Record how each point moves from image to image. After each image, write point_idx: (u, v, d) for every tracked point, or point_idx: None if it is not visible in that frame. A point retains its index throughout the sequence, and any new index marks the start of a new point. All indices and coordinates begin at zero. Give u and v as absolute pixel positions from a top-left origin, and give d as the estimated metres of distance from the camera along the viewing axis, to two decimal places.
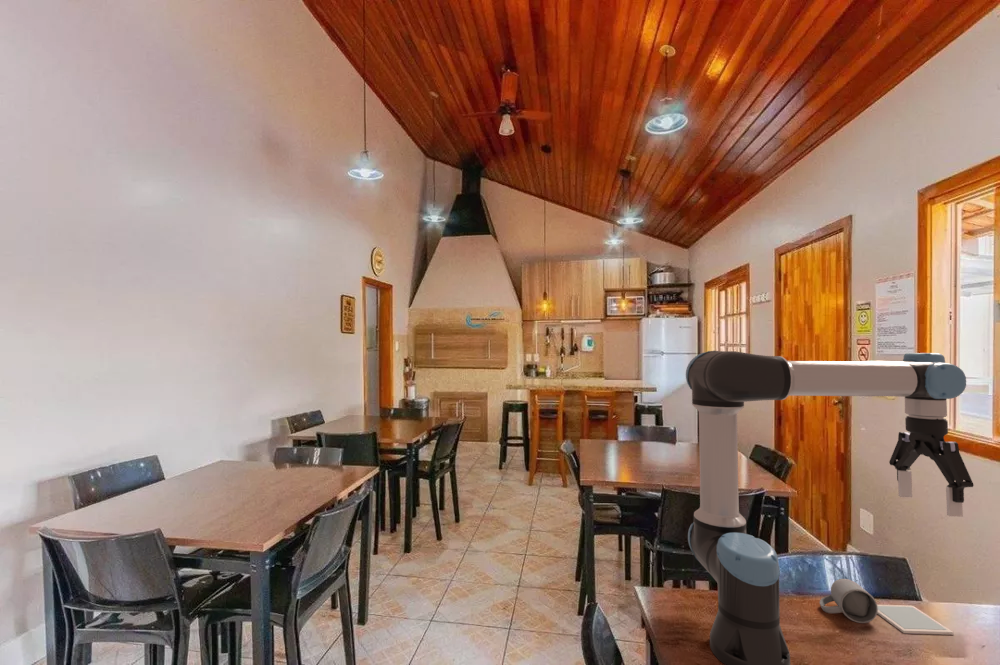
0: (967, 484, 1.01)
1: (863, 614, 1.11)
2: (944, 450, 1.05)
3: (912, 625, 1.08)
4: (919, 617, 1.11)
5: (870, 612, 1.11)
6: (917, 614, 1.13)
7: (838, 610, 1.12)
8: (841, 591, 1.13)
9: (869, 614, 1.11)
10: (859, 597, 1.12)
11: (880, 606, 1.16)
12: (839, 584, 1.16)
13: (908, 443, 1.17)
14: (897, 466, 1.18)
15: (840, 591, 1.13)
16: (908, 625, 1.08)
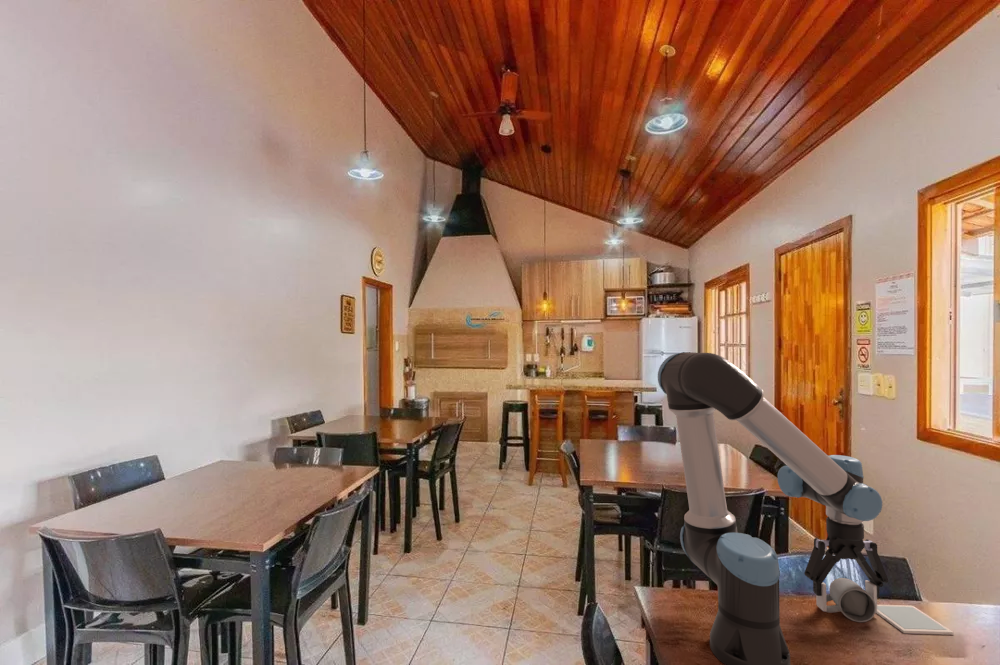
0: (807, 575, 1.15)
1: (861, 613, 1.11)
2: None
3: (912, 625, 1.08)
4: (919, 617, 1.11)
5: (868, 611, 1.11)
6: (917, 614, 1.13)
7: (837, 609, 1.12)
8: (840, 590, 1.13)
9: (867, 613, 1.11)
10: (857, 596, 1.12)
11: (880, 606, 1.16)
12: (837, 583, 1.16)
13: (871, 553, 1.14)
14: None
15: (838, 590, 1.14)
16: (908, 625, 1.08)
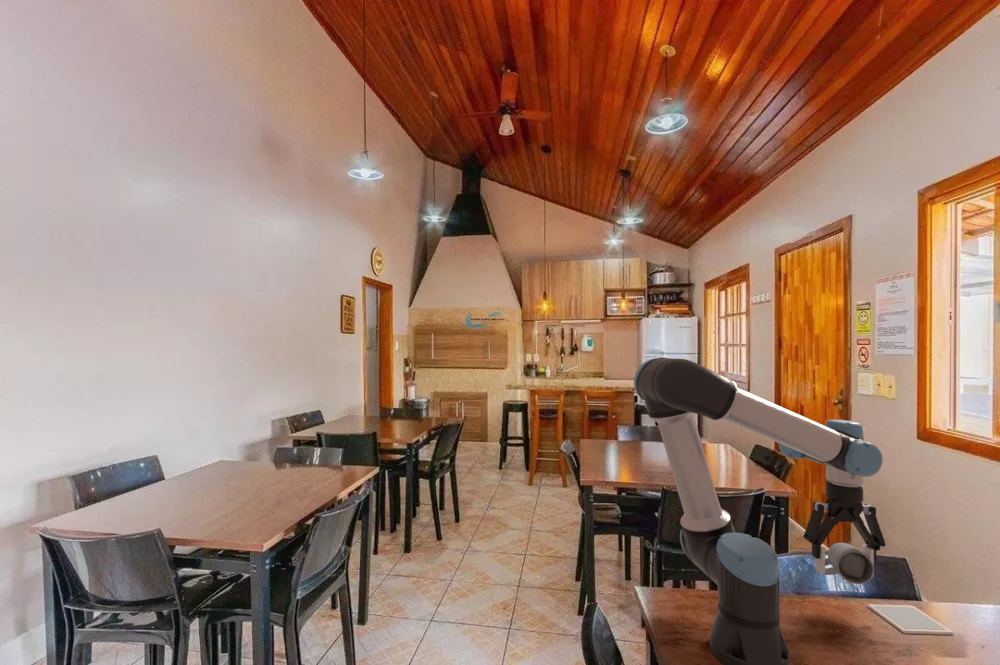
0: (806, 538, 1.15)
1: (859, 576, 1.12)
2: None
3: (912, 625, 1.08)
4: (919, 617, 1.11)
5: (866, 574, 1.12)
6: (917, 614, 1.13)
7: (835, 571, 1.13)
8: (838, 553, 1.13)
9: (865, 576, 1.12)
10: (856, 559, 1.12)
11: (880, 606, 1.16)
12: (836, 547, 1.16)
13: (869, 517, 1.14)
14: None
15: (837, 553, 1.14)
16: (908, 625, 1.08)
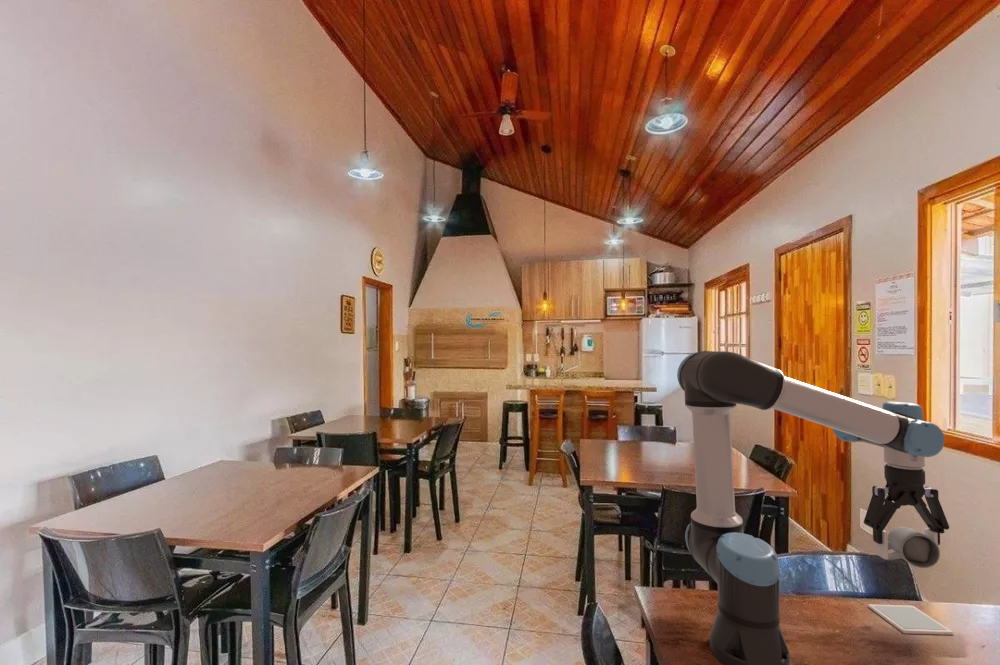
0: (867, 523, 1.13)
1: (924, 559, 1.09)
2: None
3: (912, 625, 1.08)
4: (919, 617, 1.11)
5: (931, 557, 1.09)
6: (917, 614, 1.13)
7: (898, 556, 1.10)
8: (901, 537, 1.11)
9: (930, 559, 1.09)
10: (920, 542, 1.10)
11: (880, 606, 1.16)
12: (897, 531, 1.14)
13: (931, 500, 1.12)
14: None
15: (899, 537, 1.12)
16: (908, 625, 1.08)
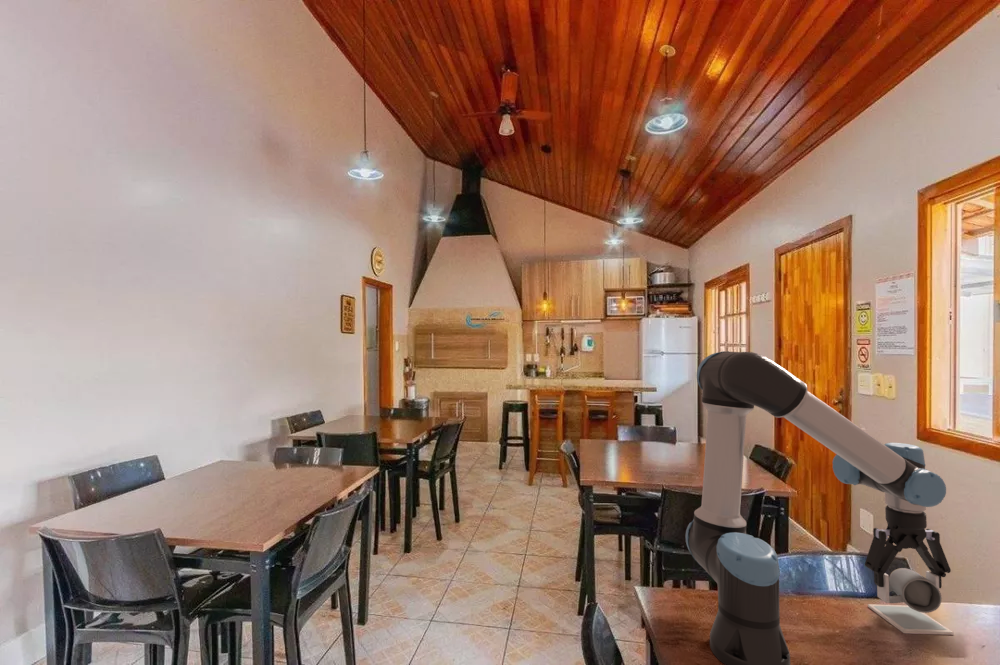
0: (868, 566, 1.12)
1: (926, 603, 1.09)
2: None
3: (912, 625, 1.08)
4: (919, 617, 1.11)
5: (933, 601, 1.09)
6: (917, 614, 1.13)
7: (900, 599, 1.10)
8: (902, 580, 1.11)
9: (932, 603, 1.09)
10: (921, 586, 1.09)
11: (880, 606, 1.16)
12: (898, 573, 1.14)
13: (932, 542, 1.11)
14: None
15: (901, 580, 1.11)
16: (908, 625, 1.08)
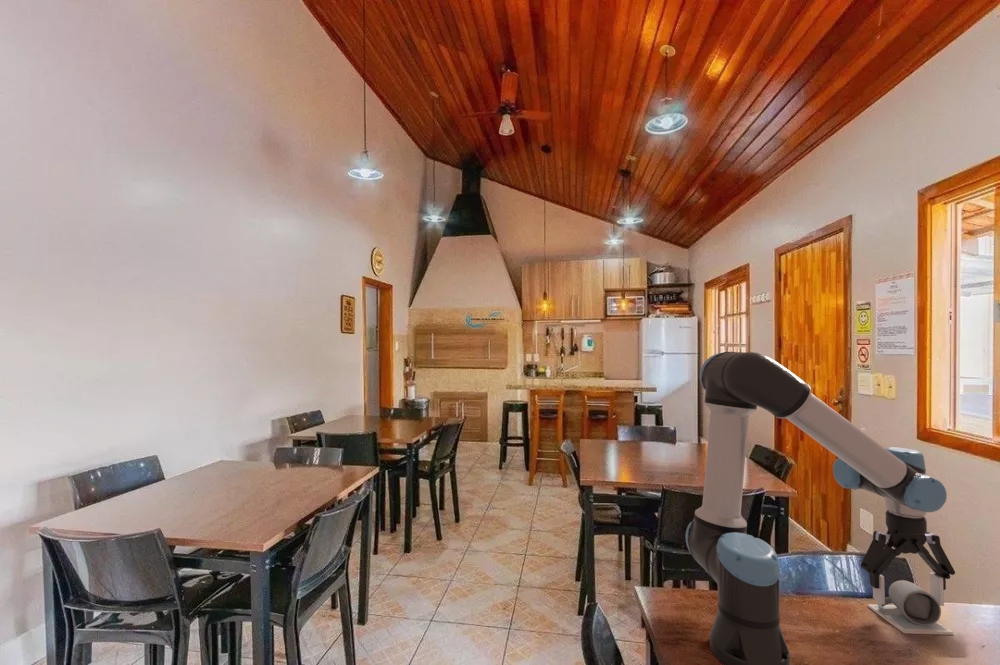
0: (863, 567, 1.12)
1: (925, 616, 1.09)
2: None
3: (912, 625, 1.08)
4: None
5: (932, 614, 1.09)
6: None
7: (899, 612, 1.10)
8: (902, 593, 1.11)
9: (931, 616, 1.09)
10: (921, 599, 1.09)
11: None
12: (898, 586, 1.14)
13: (933, 546, 1.11)
14: None
15: (900, 593, 1.11)
16: (908, 625, 1.08)
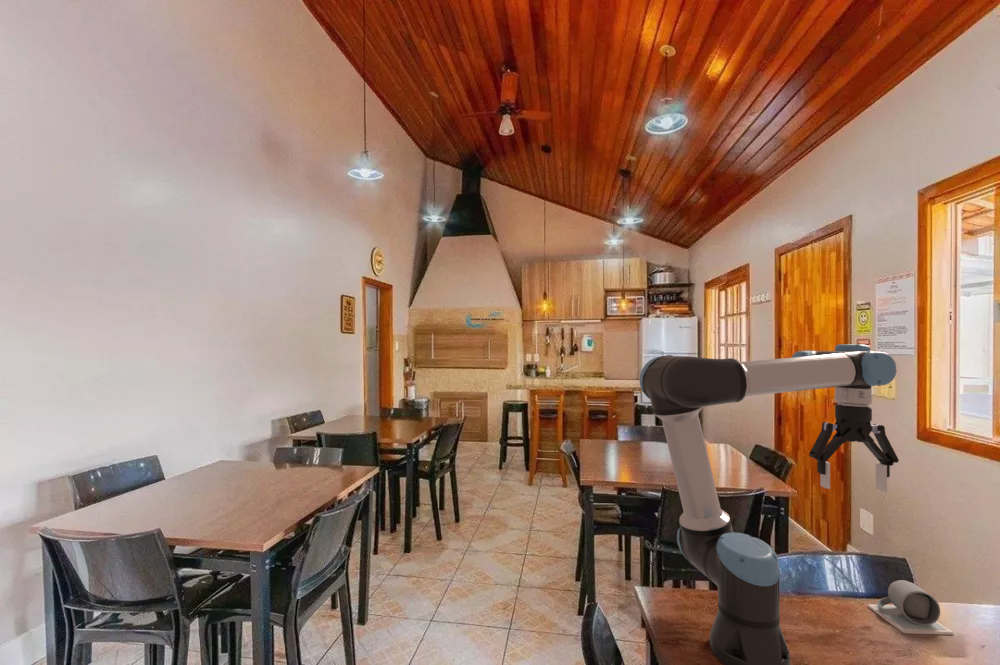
0: (811, 455, 1.18)
1: (924, 616, 1.09)
2: None
3: (912, 625, 1.08)
4: None
5: (932, 614, 1.09)
6: None
7: (899, 612, 1.10)
8: (901, 593, 1.11)
9: (930, 616, 1.09)
10: (920, 599, 1.09)
11: None
12: (897, 585, 1.14)
13: (879, 436, 1.17)
14: None
15: (900, 592, 1.11)
16: (908, 625, 1.08)
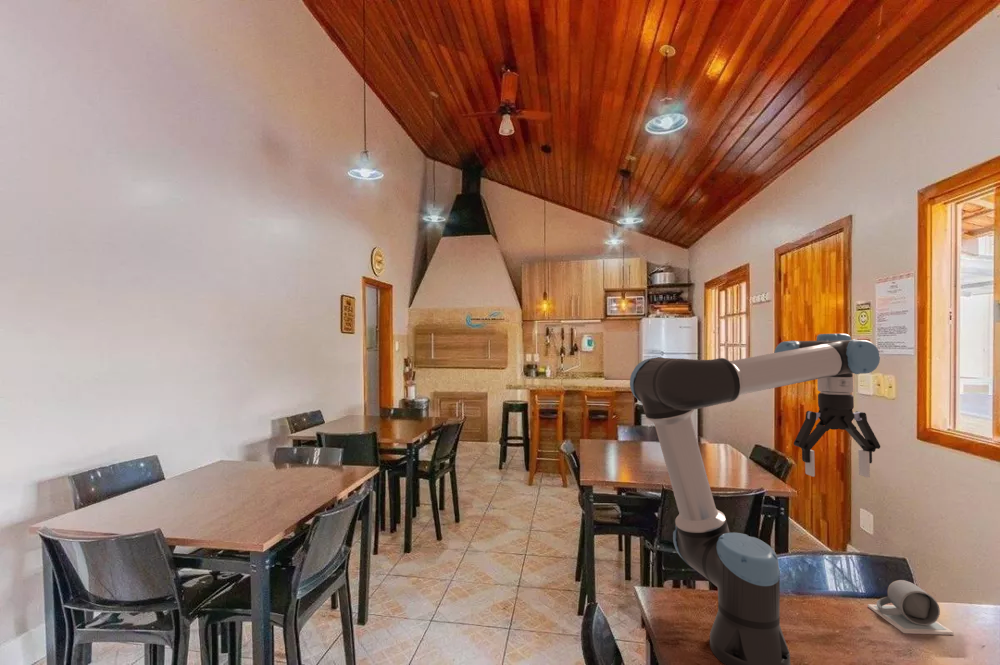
0: (796, 444, 1.20)
1: (924, 616, 1.09)
2: None
3: (912, 625, 1.08)
4: None
5: (931, 614, 1.09)
6: None
7: (898, 612, 1.10)
8: (901, 593, 1.11)
9: (930, 616, 1.09)
10: (919, 599, 1.09)
11: None
12: (897, 585, 1.14)
13: (861, 423, 1.19)
14: None
15: (899, 592, 1.11)
16: (908, 625, 1.08)
